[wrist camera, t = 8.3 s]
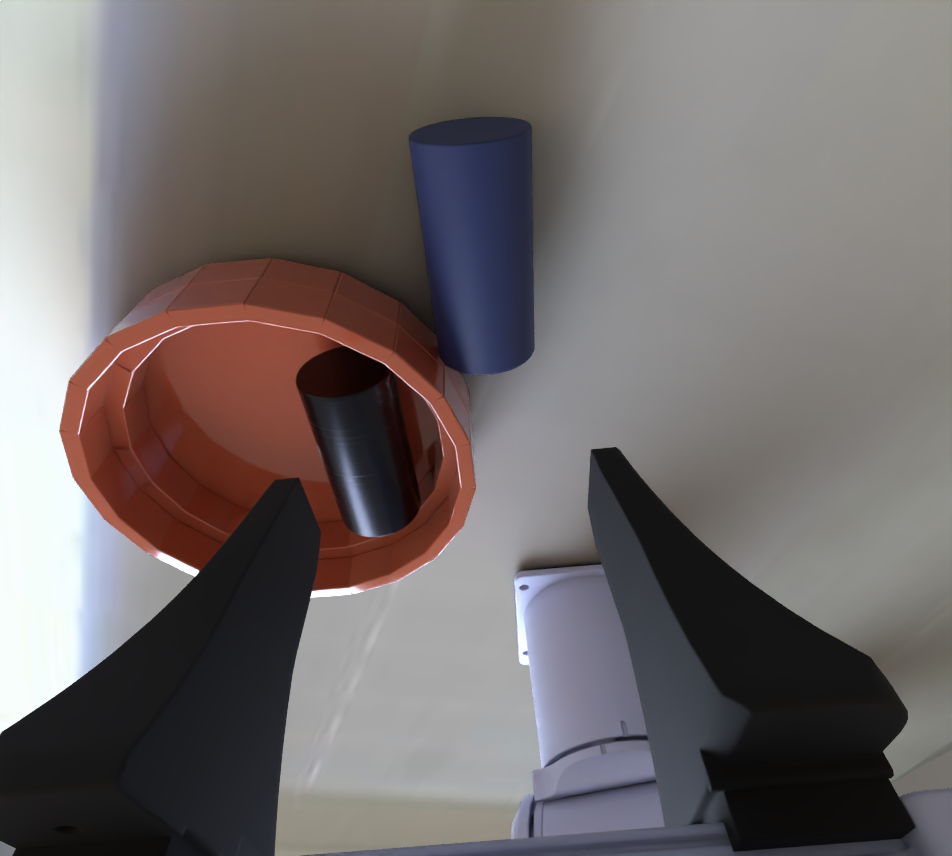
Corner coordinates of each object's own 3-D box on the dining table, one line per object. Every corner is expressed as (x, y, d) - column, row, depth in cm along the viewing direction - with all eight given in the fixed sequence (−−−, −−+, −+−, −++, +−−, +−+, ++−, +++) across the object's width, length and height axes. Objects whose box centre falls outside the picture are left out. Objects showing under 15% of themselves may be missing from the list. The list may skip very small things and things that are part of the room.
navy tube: (543, 369, 18) (441, 381, 18) (525, 320, 21) (436, 331, 21) (542, 135, 14) (408, 150, 14) (520, 112, 17) (408, 124, 16)
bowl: (482, 516, 28) (486, 583, 24) (201, 539, 28) (171, 610, 25) (452, 233, 19) (453, 283, 16) (40, 272, 19) (-40, 329, 16)
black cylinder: (402, 468, 25) (434, 515, 23) (331, 499, 24) (358, 551, 22) (371, 334, 21) (408, 374, 19) (283, 363, 20) (310, 410, 17)
